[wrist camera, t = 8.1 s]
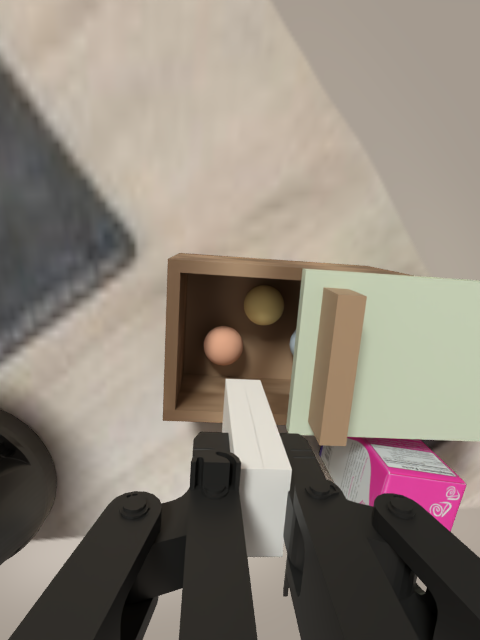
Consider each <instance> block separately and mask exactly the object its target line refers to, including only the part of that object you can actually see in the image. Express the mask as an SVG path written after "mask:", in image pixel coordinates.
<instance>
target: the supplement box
mask: <svg viewBox="0 0 480 640" xmlns="http://www.w3.org/2000/svg"><path fill="white" fill-rule="evenodd" d="M319 455H320V457H321V458H322V460H323V462H324V464H325V466H326V468H327V470H328V472H329V474H330V476H331V478H332V480H333V482H334V484H336V485H337V486H338V487H339V488H340V489H341V490H342V492H343V494H344V496H345V497H346V499H347V500H350V501H353V502H356V503H360V504H365V505H369V506H373V505H374V500H375V499H376V497H377V496H378V495H381V494H384V493H394V494H400V495H403V496H405V497H408V498H410V499H412V500H414V501H415V502H417V503H418V504H419V505H421V506H422V507H423V508H424V509H425V510H426V511H428V512H429V513H430V514H431V515H432V516H433V517H434V518H435V519H437V520H438V521H439V522H440V523H441V524H442V525H443V526H444V527H446V528H447V529H448V530H449V531H450V532H451V528H452V526H453V522H454V520H455V517H456V514H457V511H458V508H459V505H460V502H461V499H462V497H463V494H464V491H465V488H466V483H465V482H464V481H463V480H462V479H461V478H460V477H459V476H458V475H457V474H456V473H455V472H454V471H453V470H451V469H450V468H449V467H448V466H447V465H446V464H445V463H444V462H443V461H442V460H441V459H440V458H439V457H438V456H437V455H436V454H435V453H434V452H433V451H432V450H431V449H430V448H429V447H428V446H426V445H425V444H424V443H423V442H422V441H421V440H420V439H396V438H369V437H347V442H346V446H326V445H321V449H320V453H319Z"/></svg>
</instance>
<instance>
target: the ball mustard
mask: <svg viewBox="0 0 480 640" xmlns="http://www.w3.org/2000/svg"><path fill="white" fill-rule="evenodd" d="M283 310H284V300H283V297H282V295H281V294H280V292H279V291H278V290H276V289H275V288H273V287H271V286H268V285H260V286H257V287H255V288H253V289H251V290H250V291H249V292H248V294H247V295H246V297H245V300H244V311H245V313H246V315H247V317H248V318H249V319H250V320H251V321H252V322H253V323H255V324H258V325H270V324H273V323H274V322H276V321H277V320H278V319H279V318H280V317H281V315H282V313H283Z"/></svg>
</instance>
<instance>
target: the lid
mask: <svg viewBox="0 0 480 640" xmlns="http://www.w3.org/2000/svg"><path fill="white" fill-rule="evenodd" d="M286 429H287V431H288V433H298V434H300V435H315V437H316V439H317V441H318V443H319V445H326V446H346V442H347V437H369V438H396V439H423V440H450V441H477V442H480V280H464V279H450V278H436V277H421V276H406V275H392V274H377V273H362V272H347V271H333V270H318V269H303V270H302V279H301V289H300V299H299V308H298V318H297V327H296V337H295V346H294V356H293V365H292V375H291V385H290V394H289V404H288V413H287V423H286Z"/></svg>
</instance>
